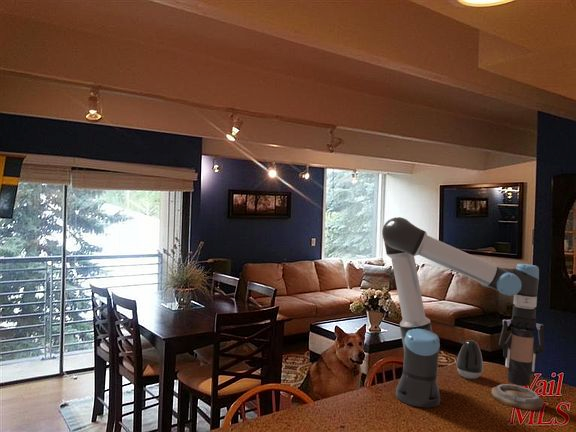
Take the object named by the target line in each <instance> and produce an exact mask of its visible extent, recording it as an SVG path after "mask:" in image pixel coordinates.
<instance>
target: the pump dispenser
mask: <svg viewBox="0 0 576 432" xmlns="http://www.w3.org/2000/svg"><path fill="white" fill-rule="evenodd" d="M458 341H459V342H460V343H461V344H462V346H461V348H460V351H459V352H458V354H457V360H456V363H455V364H456V368H457V372H458V374H459V375H460V376H462V378H465V379H468V380H475V379H478V378H479V377H480V376H481V375H482V373H483V371H484V363H483V356H482V352H481V349H480V346H479V344H478V343H477V341H475V340H473V339H468V340H463V339H462V338H459V340H458Z"/></svg>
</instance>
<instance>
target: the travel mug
mask: <svg viewBox="0 0 576 432" xmlns="http://www.w3.org/2000/svg"><path fill="white" fill-rule="evenodd" d="M513 327H514V326H511V327H510V333H511V335H512V343H511V344H510V346H509V349H510V360H509V368H507V381H508V382H509V384H510V383H511V384H512V385H517V386H521V387H528V386H529V385H530V379H531V373H532V371H531V366H532V355H533V352H534V349H533V341H534V339H535V328H533V329H532V331H527V330H519V329H515V328H513Z"/></svg>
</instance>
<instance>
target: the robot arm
mask: <svg viewBox="0 0 576 432" xmlns="http://www.w3.org/2000/svg"><path fill="white" fill-rule="evenodd" d="M382 238H383V242H384V247H385V254H386V256H388V258H390V260H391V263H392V269H393V275H394V280H395V285H396V291H397V296H398V301H399V306H400V307H399V308H400V312H401V317H402V319H401V321H400V323H399V329H400V334H401V342H402V347H403V362H402V364H403V366H402V373H401V377H400V379H399V381H398V384H397V386H396V389H395V396H396V398H397V399H398V400H399V401H401V402H403V403H404V404H407V405H410V406H413V407H417V408H427V409H429V408H435V407H438V406H439V405H441V404H440V403H441V393H440V390H439V389H440V388H439V385H438V380H437V377H438V367H439V366H438V364H439V353H440V352H439V351H440V347H441V344H440V338H439V336H438V334H436V333H435V332H433V328H432V323H431V322H432V321H431V320H430V318H428V317H427V316H426V313H425V307H424V301H423V297H422V291H421V285H420V282H419V275H418V270H417V265H416V259H415V256H421V257H422V258H425V259H427V260H429V261H431V262H434V263H436V264H438V265H441V266H443V267H445V268H447V269H449V270H451V271H454V272H456V273H458V274H459V275H463V276H464V277H467V278H469V279H471V280H474V282H475V281H476V282H478V283H479V284H480V285H481V286H482V287H484V288H489V289H490V288H491V289H493V290H495V291H497V292H499V293H500V294H502V295H504V296H510V297H511V296H513V302H512V304H513V306H512V314H511V318H510V319H502V328H501V333H500V336H499V339H498V345H499V347H500V348H503V352H502V355H503V358H505V364H504V365H505V368H507V369H508V368H509V360H510V349H509V348H510V344H511V343H512V335H511V332H510V333H509V335H508V337H507V331H508V327H509V326H510V325H512V327H513V328H515V329H519V330H527V331H532V329H535V328H536V329H537V338H538V345H537V342H536V339H535V338H534V341H533V355H532V366H531V372H533V373H534V372H535V365H536V363H538V361H539V355H540V354H541V353H545V352H546V350H545V338H544V337H545V336H544V330H545V325H544V324H543V323H537V321H536V317H537V316H536V315H537V309H536V308H537V304H538V289H539V280H540V277H539V276H540V268H539V266H537V265H535V264H534V265H533V264H530V263H517V264H516V267H515V268H507V267H500V266H499V267H498V266H497V265H495V264H493V263H491V262H488V261H485V260H484V259H481V258H479V257H476V256H474V255H472V254H469V253H467V252H465V251H463V250H461V249H458V248H457V247H454V246H452V245H449V244H447V243H445V242H443V241H441V240H438V239H437V238H434V237H432V236H431V235H428V233H427V231H425V230H423V229H421V228H419V227H418V226H416V225H414V224H413V223H411V221H409V220H408V219H406V218H404V217H397V216H396V217H392V218H390V219H388V220H387V221H386V222H385V223H384V225H383V226H382ZM506 337H507V339H506ZM505 340H506V341H505Z"/></svg>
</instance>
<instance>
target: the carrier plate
mask: <svg viewBox="0 0 576 432" xmlns="http://www.w3.org/2000/svg"><path fill="white" fill-rule="evenodd" d="M490 394H492V395H491V397H492V396H493V397H494V398H495V399H494V398H493V397H492V398H493V399H494V400H495V401H497V400H498V401H497V402H499V401H500V402H499V403H501V402H502V403H501V404H503V403H504V405H505V404H506V406H508V405H509V407H511V406H513V407H512V408H515V409H519V410H526V411H538V410H541V409H543V407H544V400H543V398H541V397H540V395H538V393H537V392H535V391H534V390H532V389H530V388H527V387H525V386H520V385H515V384H512V383H511V384H510V383H504V384H503V383H501V384H498V385H496V386H494V387H492V388H491V393H490Z"/></svg>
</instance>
